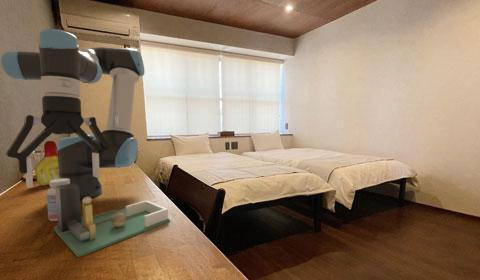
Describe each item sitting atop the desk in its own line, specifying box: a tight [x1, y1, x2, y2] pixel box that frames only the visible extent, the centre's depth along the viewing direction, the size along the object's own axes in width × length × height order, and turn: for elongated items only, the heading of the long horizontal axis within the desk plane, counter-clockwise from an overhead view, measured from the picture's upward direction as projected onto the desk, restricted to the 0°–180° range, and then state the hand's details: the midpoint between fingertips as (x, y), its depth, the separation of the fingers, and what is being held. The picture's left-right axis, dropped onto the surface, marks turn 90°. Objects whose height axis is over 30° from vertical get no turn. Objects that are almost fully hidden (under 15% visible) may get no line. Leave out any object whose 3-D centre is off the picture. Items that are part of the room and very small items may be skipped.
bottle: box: [34, 140, 59, 186], centre depth 102 cm, size 12×6×20 cm, turn 138°
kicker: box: [55, 183, 96, 241], centre depth 54 cm, size 14×4×11 cm, turn 51°
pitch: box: [54, 208, 171, 258], centre depth 60 cm, size 18×22×1 cm
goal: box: [124, 199, 169, 227], centre depth 65 cm, size 12×7×4 cm, turn 51°
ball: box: [111, 213, 127, 227], centre depth 59 cm, size 4×4×4 cm
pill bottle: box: [46, 179, 70, 222], centre depth 66 cm, size 6×6×11 cm
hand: (66, 181), depth 56 cm, fingers open, 13 cm apart
